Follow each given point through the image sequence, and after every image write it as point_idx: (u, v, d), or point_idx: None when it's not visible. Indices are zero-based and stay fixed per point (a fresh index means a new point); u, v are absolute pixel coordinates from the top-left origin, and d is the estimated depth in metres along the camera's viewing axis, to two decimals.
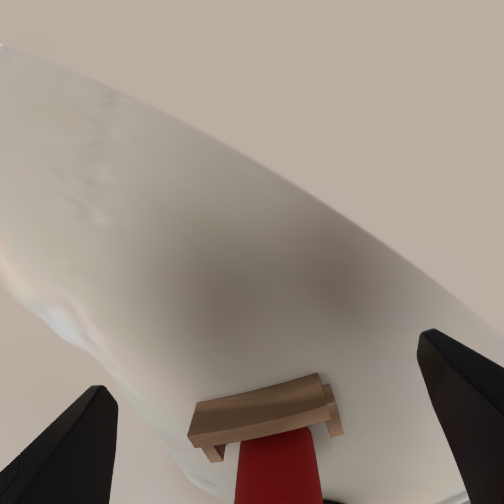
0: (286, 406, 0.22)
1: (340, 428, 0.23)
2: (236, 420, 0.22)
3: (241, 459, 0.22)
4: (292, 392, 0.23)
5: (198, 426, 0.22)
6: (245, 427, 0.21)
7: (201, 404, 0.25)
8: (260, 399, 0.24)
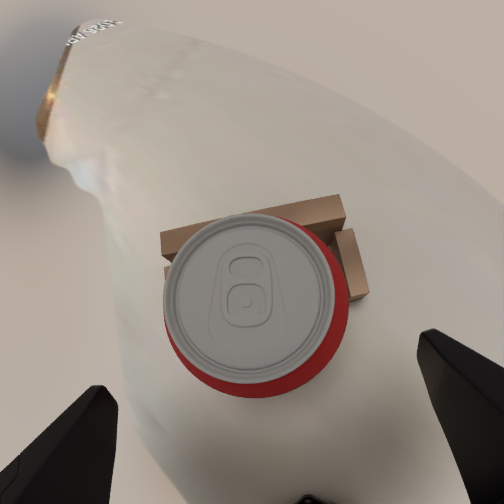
0: None
1: (363, 278, 0.18)
2: None
3: None
4: None
5: None
6: None
7: None
8: None
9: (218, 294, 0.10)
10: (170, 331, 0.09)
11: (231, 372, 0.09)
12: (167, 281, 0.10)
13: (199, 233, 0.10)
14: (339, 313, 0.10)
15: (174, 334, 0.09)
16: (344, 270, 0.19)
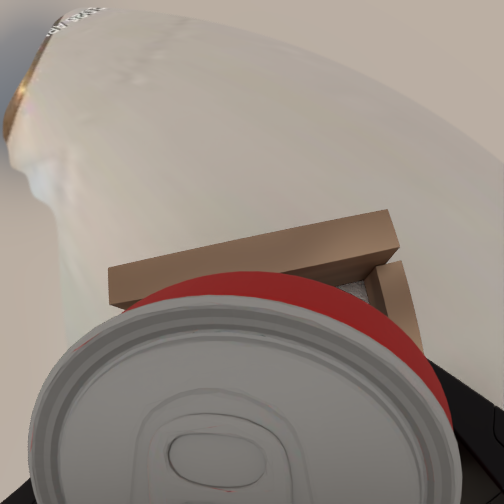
0: None
1: (417, 338, 0.11)
2: None
3: None
4: None
5: None
6: (223, 246, 0.11)
7: None
8: None
9: None
10: None
11: None
12: (30, 451, 0.03)
13: (82, 346, 0.03)
14: None
15: None
16: None
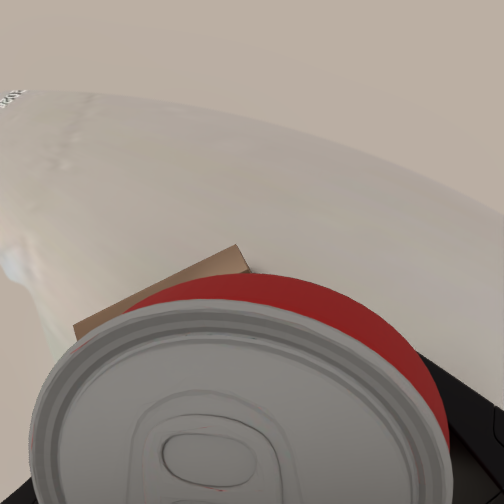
0: None
1: None
2: None
3: None
4: None
5: None
6: (135, 296, 0.16)
7: None
8: None
9: None
10: None
11: None
12: (31, 449, 0.03)
13: (79, 348, 0.03)
14: None
15: None
16: None
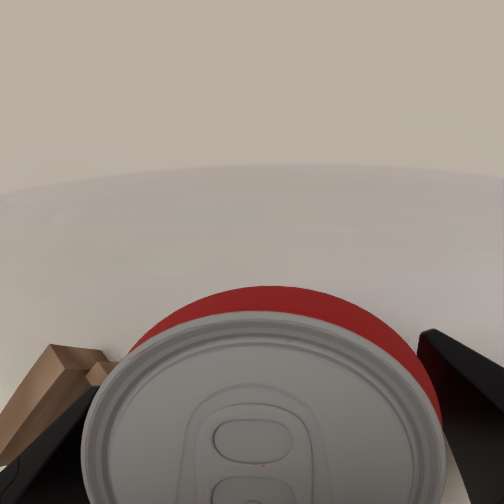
0: None
1: None
2: None
3: None
4: None
5: None
6: (2, 414, 0.11)
7: None
8: None
9: (192, 488, 0.03)
10: None
11: None
12: (84, 447, 0.04)
13: (138, 354, 0.04)
14: None
15: None
16: None
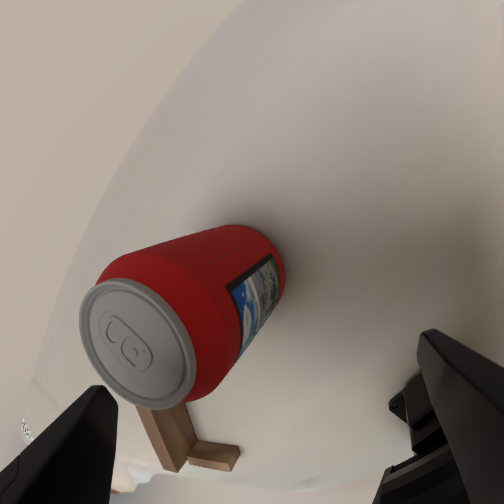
0: None
1: None
2: None
3: None
4: None
5: None
6: (148, 432, 0.22)
7: None
8: None
9: (122, 359, 0.11)
10: (129, 401, 0.11)
11: (172, 397, 0.11)
12: (100, 376, 0.11)
13: (82, 336, 0.11)
14: (185, 302, 0.10)
15: (132, 400, 0.11)
16: None
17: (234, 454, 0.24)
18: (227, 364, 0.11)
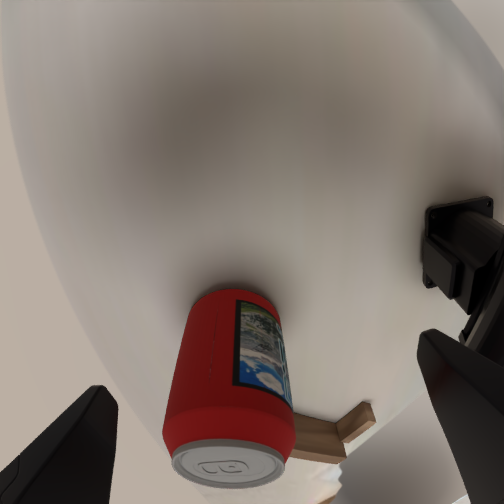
0: None
1: None
2: None
3: None
4: None
5: None
6: (301, 458, 0.25)
7: None
8: None
9: (231, 474, 0.13)
10: (261, 485, 0.13)
11: (278, 465, 0.12)
12: (232, 488, 0.13)
13: (198, 483, 0.13)
14: (222, 427, 0.12)
15: (262, 483, 0.13)
16: None
17: (366, 409, 0.27)
18: (285, 421, 0.13)
